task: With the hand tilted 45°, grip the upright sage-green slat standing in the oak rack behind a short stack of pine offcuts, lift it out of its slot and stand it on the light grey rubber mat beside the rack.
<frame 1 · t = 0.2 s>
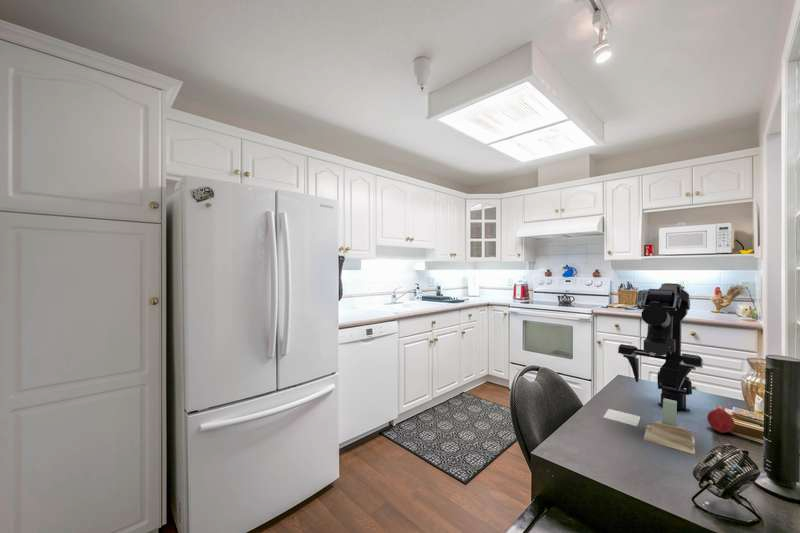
hand: (656, 386, 95), 16 cm above the table, fingers open, 9 cm apart
mat: (622, 418, 109), on the table
onion: (720, 434, 100), on the table
slat: (669, 435, 97), resting on offcut rack
offcut rack: (669, 437, 97), on the table
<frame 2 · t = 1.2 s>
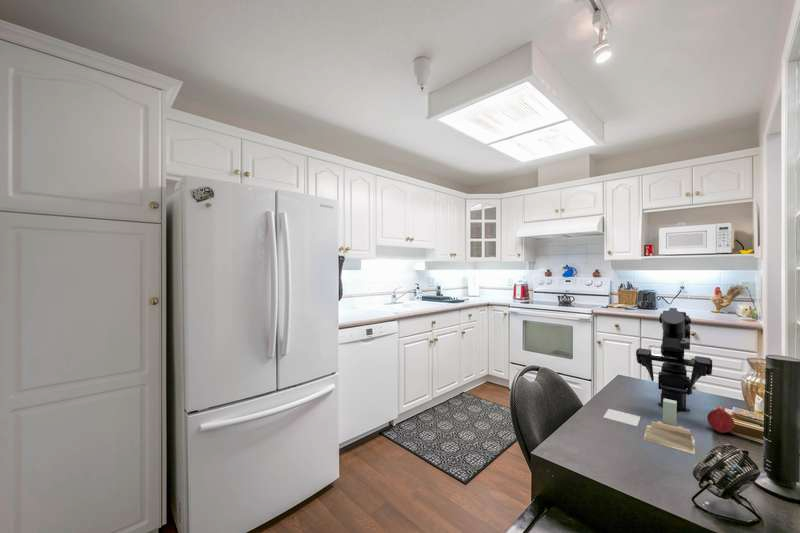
hand: (671, 384, 103), 13 cm above the table, fingers open, 9 cm apart
nothing on the table moved.
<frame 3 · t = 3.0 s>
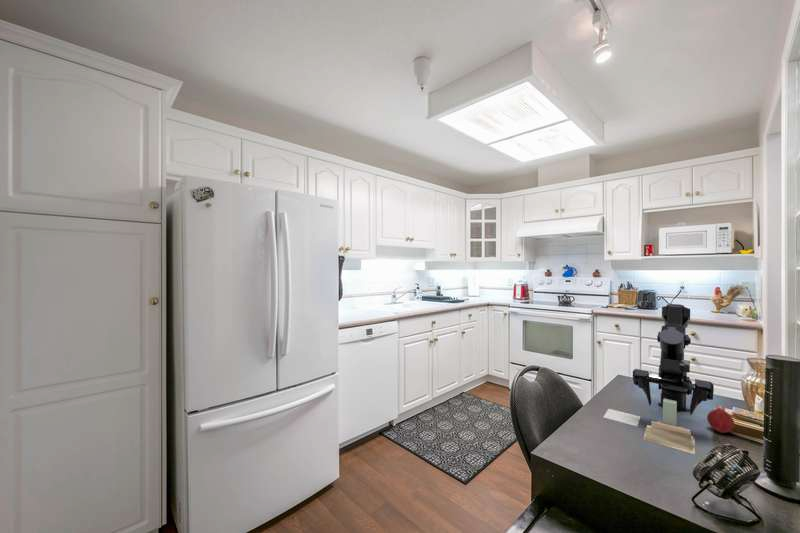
hand: (669, 409, 96), 8 cm above the table, fingers open, 9 cm apart
nothing on the table moved.
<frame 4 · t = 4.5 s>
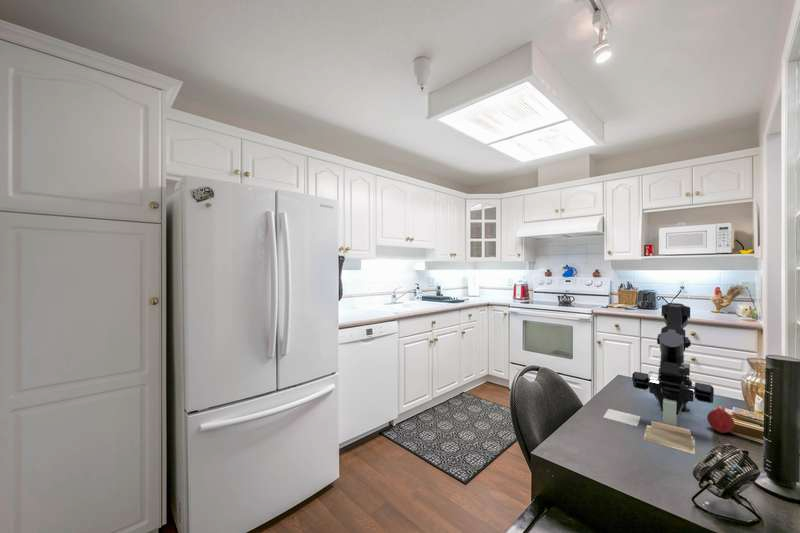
hand: (669, 412, 96), 8 cm above the table, fingers closed on slat, 3 cm apart
slat: (669, 435, 97), resting on offcut rack, touching gripper
everything else where it was.
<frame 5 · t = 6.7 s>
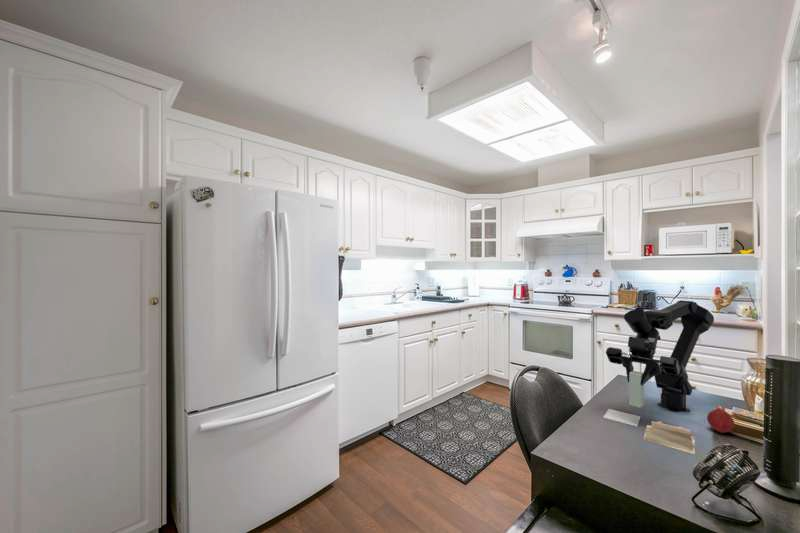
hand: (634, 383, 104), 13 cm above the table, fingers closed on slat, 3 cm apart
slat: (636, 404, 104), point 6 cm above the table, touching gripper
everything else where it was.
when the fingers open (8 cm above the table, at t = 8.9 s): slat stays where it is, resting on mat.
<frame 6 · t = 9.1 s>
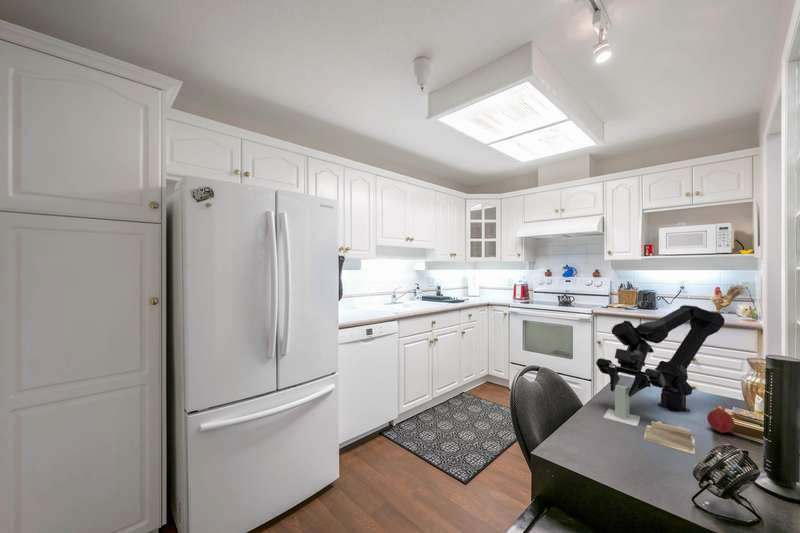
hand: (620, 393, 108), 8 cm above the table, fingers open, 5 cm apart
slat: (622, 416, 109), point 1 cm above the table, touching mat
everything else where it was.
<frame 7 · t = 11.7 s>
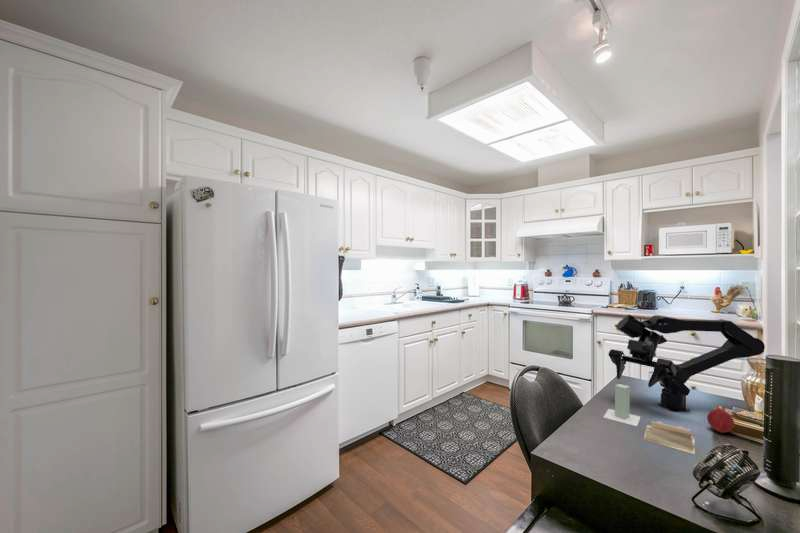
hand: (632, 382, 113), 11 cm above the table, fingers open, 9 cm apart
nothing on the table moved.
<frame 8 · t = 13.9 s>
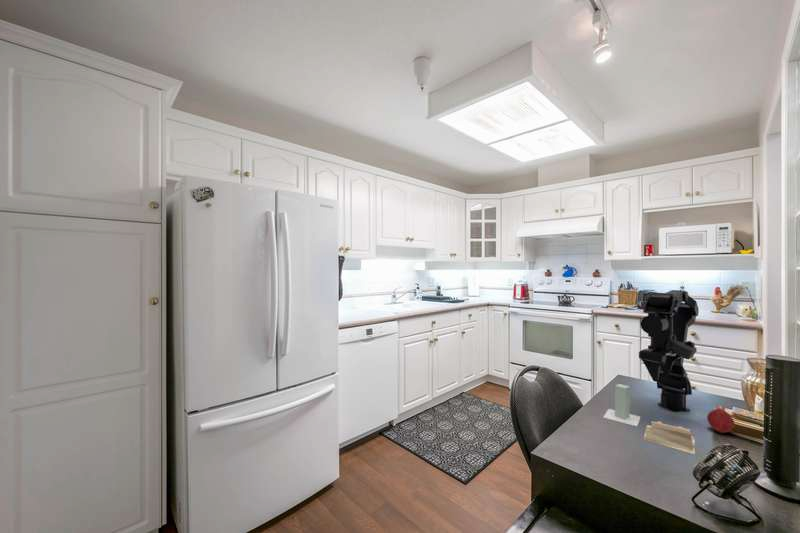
hand: (661, 378, 109), 13 cm above the table, fingers open, 9 cm apart
nothing on the table moved.
at the end: slat inside the target area on the mat (0.0 cm from its centre), point 0.6 cm above the mat's base; slat tilted 0°; the gripper is holding nothing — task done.
